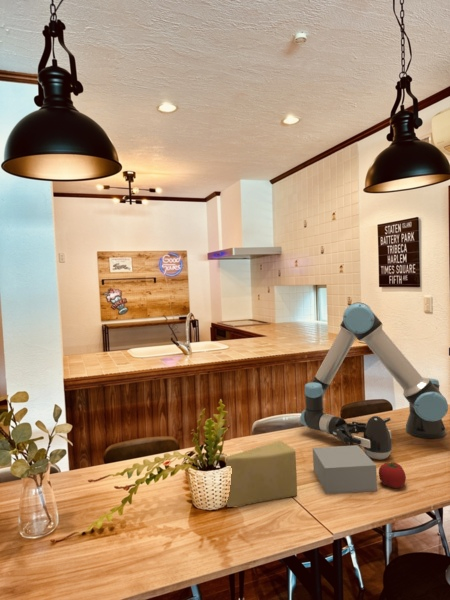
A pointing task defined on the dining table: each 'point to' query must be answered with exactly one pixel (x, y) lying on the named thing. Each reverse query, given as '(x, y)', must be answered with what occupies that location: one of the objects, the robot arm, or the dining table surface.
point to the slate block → (344, 469)
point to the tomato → (392, 475)
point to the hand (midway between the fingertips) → (380, 439)
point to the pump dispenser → (377, 438)
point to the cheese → (262, 474)
